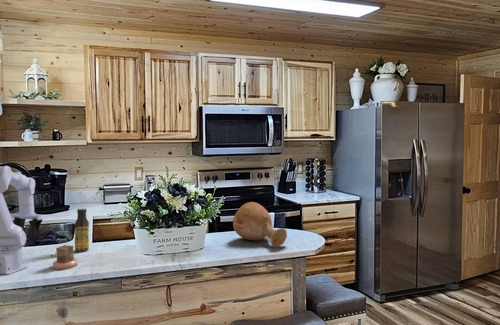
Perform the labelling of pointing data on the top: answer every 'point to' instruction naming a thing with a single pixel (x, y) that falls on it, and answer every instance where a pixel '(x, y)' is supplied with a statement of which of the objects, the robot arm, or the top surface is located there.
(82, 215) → the sauce bottle
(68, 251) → the walnut block
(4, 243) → the robot arm
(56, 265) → the tan flattened disc
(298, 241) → the top surface
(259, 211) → the jug
